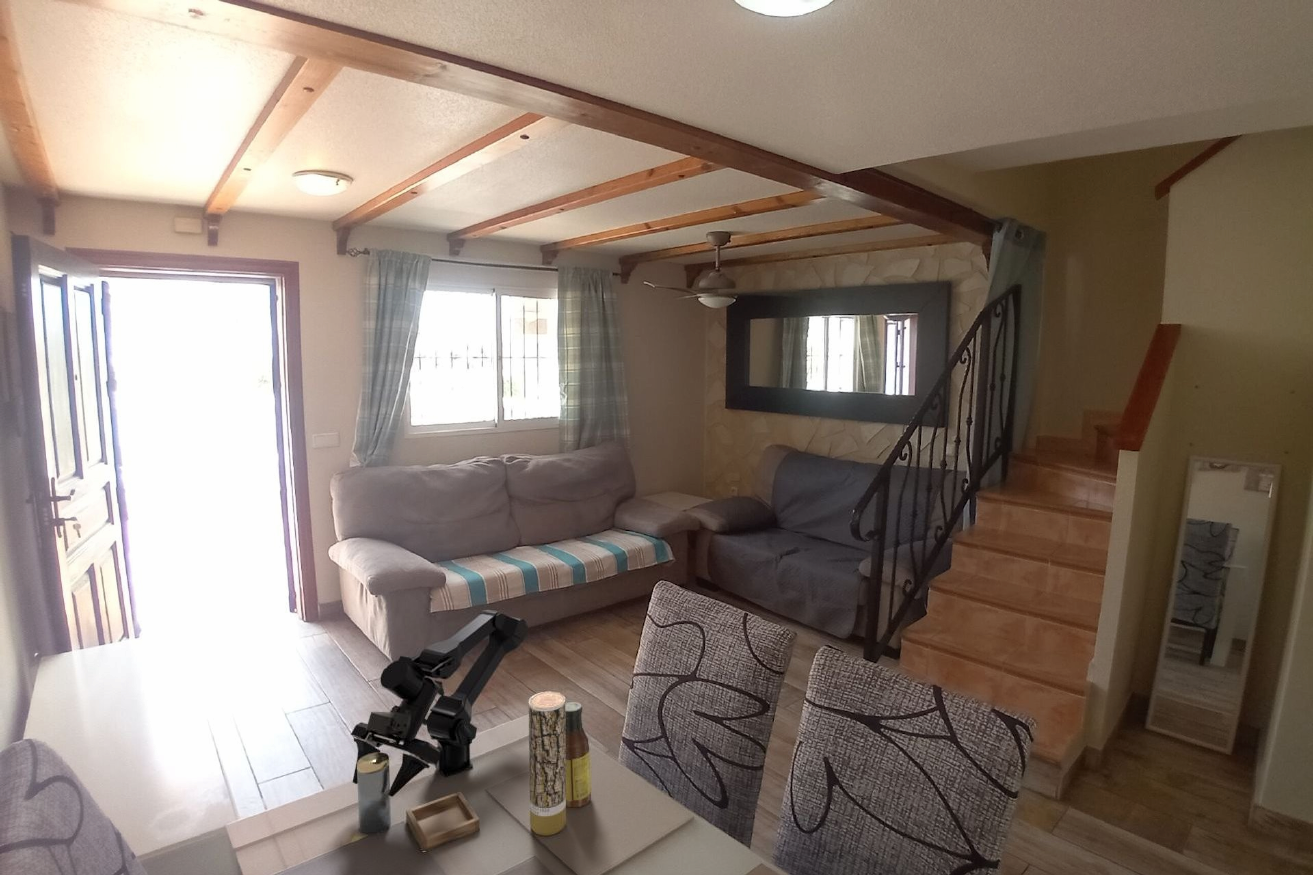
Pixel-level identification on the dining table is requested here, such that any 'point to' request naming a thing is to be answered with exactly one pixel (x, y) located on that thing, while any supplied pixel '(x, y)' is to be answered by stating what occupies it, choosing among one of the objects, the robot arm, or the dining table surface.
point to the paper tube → (547, 762)
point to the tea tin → (373, 793)
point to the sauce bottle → (576, 758)
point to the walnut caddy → (442, 821)
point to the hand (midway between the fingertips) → (372, 789)
